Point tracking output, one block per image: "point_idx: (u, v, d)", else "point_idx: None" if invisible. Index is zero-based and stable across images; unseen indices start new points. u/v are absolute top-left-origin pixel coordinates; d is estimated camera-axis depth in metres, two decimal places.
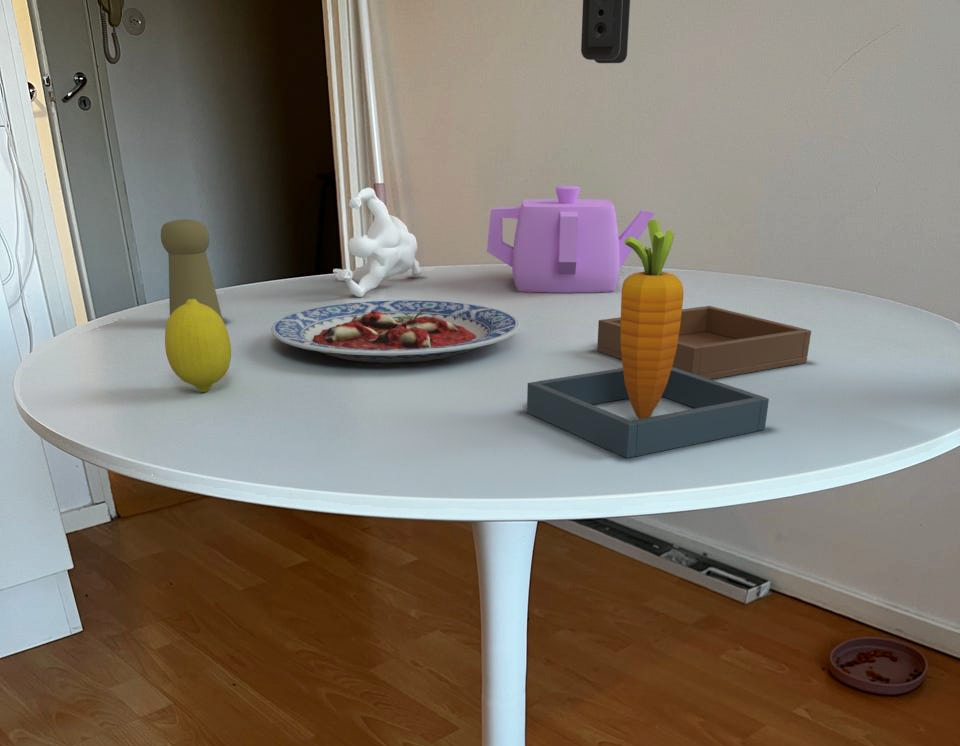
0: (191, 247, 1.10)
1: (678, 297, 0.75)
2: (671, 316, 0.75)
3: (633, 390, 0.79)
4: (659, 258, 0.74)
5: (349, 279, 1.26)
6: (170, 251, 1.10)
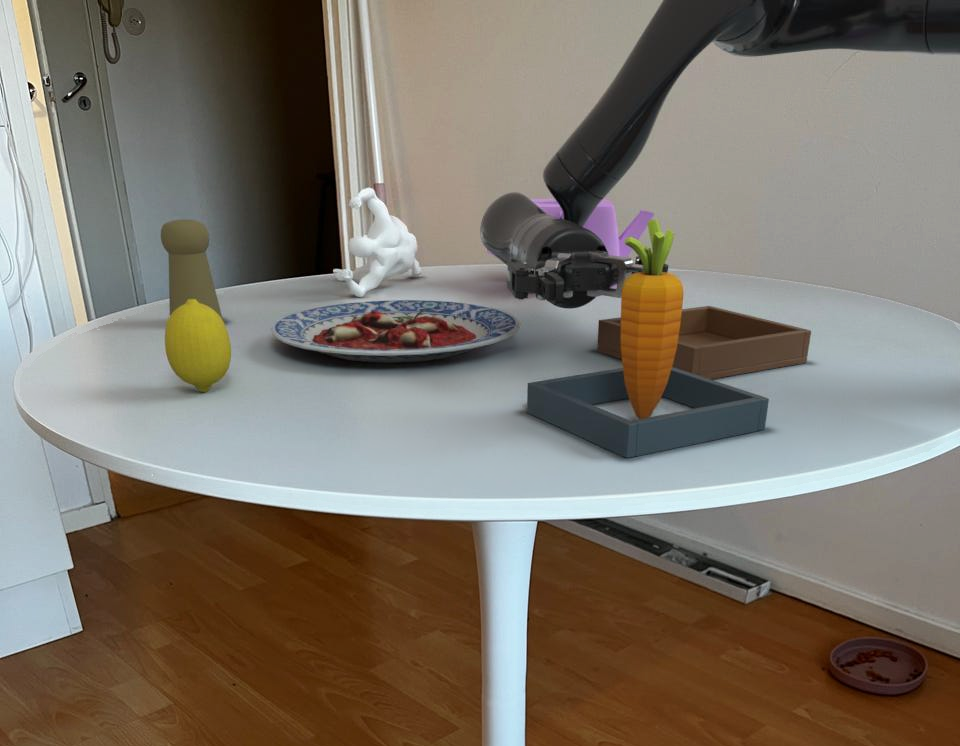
0: (191, 247, 1.10)
1: (678, 297, 0.75)
2: (671, 316, 0.75)
3: (633, 390, 0.79)
4: (659, 258, 0.74)
5: (349, 279, 1.26)
6: (170, 251, 1.10)
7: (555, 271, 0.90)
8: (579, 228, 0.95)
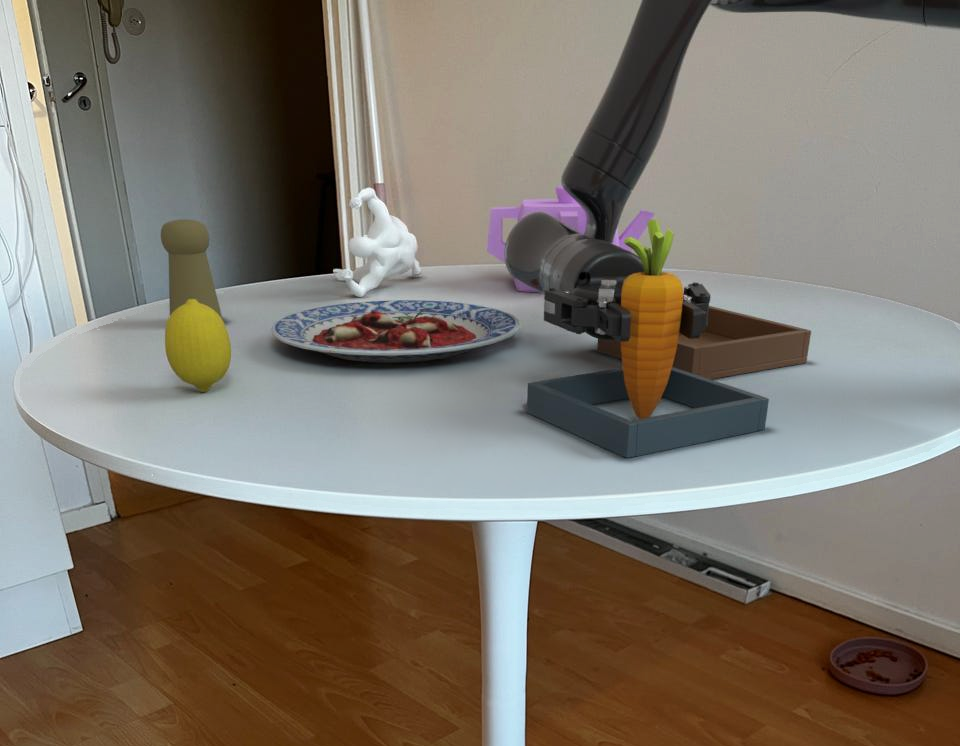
0: (191, 247, 1.10)
1: (678, 297, 0.75)
2: (671, 316, 0.75)
3: (633, 390, 0.79)
4: (659, 258, 0.74)
5: (349, 279, 1.26)
6: (170, 251, 1.10)
7: (613, 301, 0.79)
8: (621, 250, 0.84)
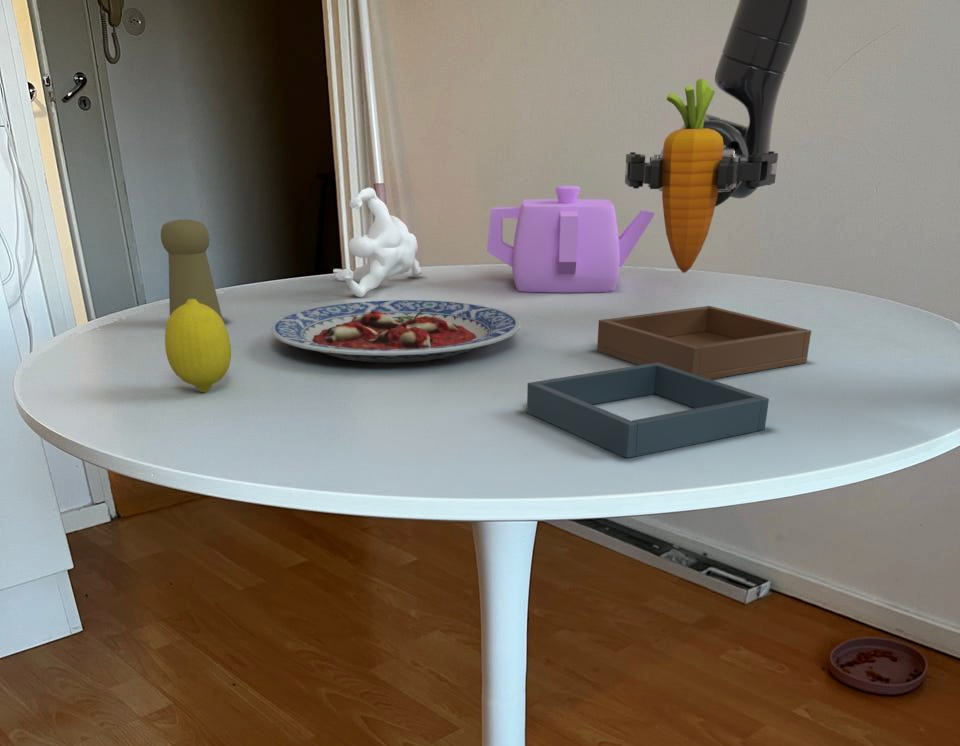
0: (191, 247, 1.10)
1: (709, 149, 0.82)
2: (700, 167, 0.83)
3: (670, 239, 0.87)
4: (693, 112, 0.82)
5: (350, 279, 1.26)
6: (170, 251, 1.10)
7: None
8: (711, 122, 0.92)
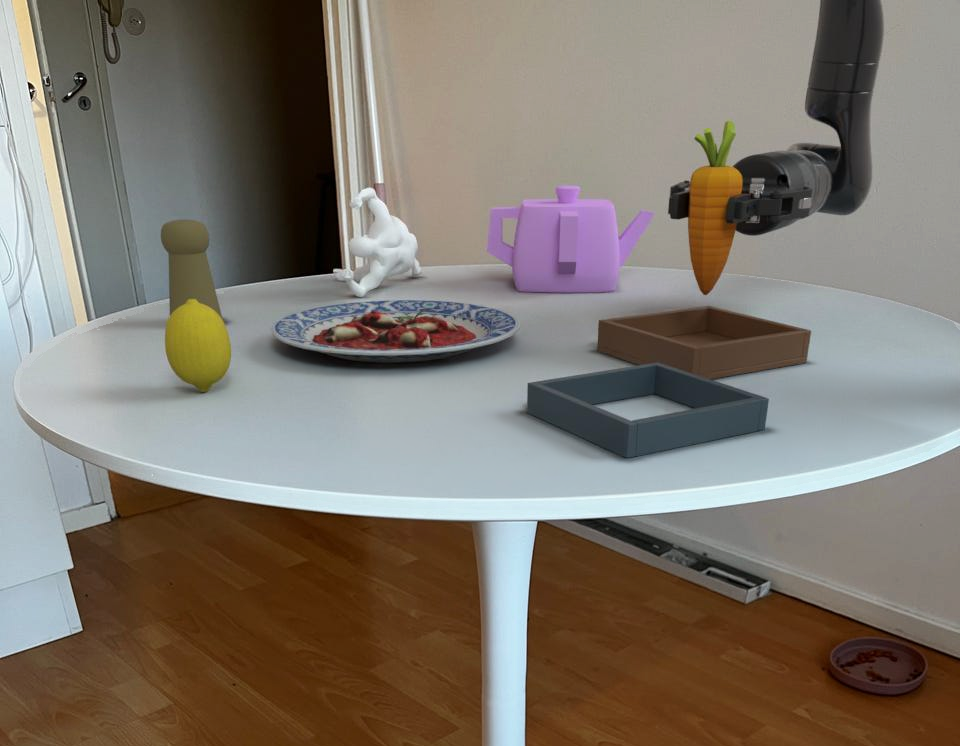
0: (191, 247, 1.10)
1: (723, 186, 0.91)
2: (714, 202, 0.91)
3: (692, 264, 0.96)
4: (712, 152, 0.91)
5: (350, 279, 1.26)
6: (170, 251, 1.10)
7: None
8: (763, 156, 0.99)
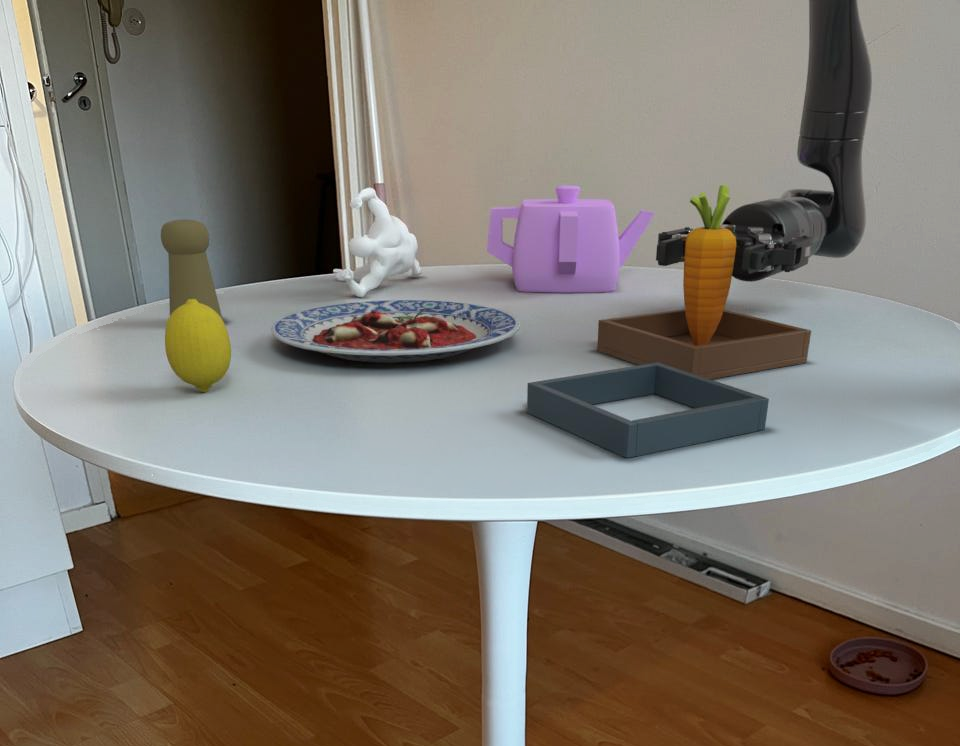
0: (191, 247, 1.10)
1: (717, 248, 0.93)
2: (709, 263, 0.94)
3: (687, 321, 0.99)
4: (707, 215, 0.93)
5: (350, 279, 1.26)
6: (170, 251, 1.10)
7: None
8: (759, 205, 1.01)
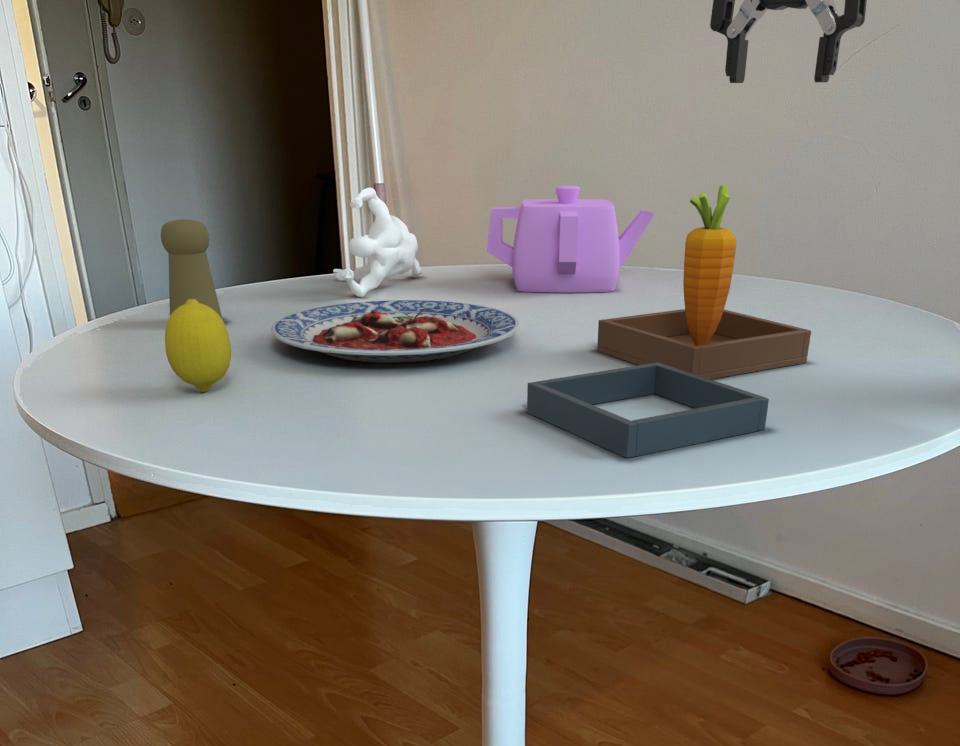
0: (191, 247, 1.10)
1: (717, 248, 0.93)
2: (709, 263, 0.94)
3: (687, 321, 0.99)
4: (707, 215, 0.93)
5: (350, 279, 1.26)
6: (170, 251, 1.10)
7: (747, 21, 0.96)
8: None
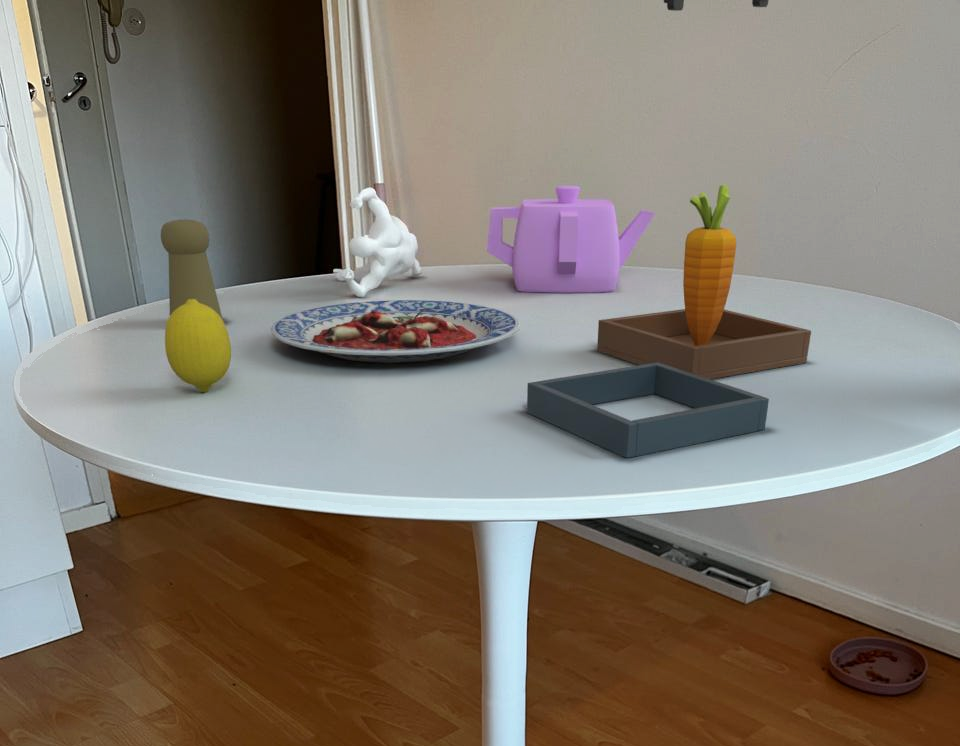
0: (191, 247, 1.10)
1: (717, 248, 0.93)
2: (709, 263, 0.94)
3: (687, 321, 0.99)
4: (707, 215, 0.93)
5: (350, 279, 1.26)
6: (170, 251, 1.10)
7: None
8: None
